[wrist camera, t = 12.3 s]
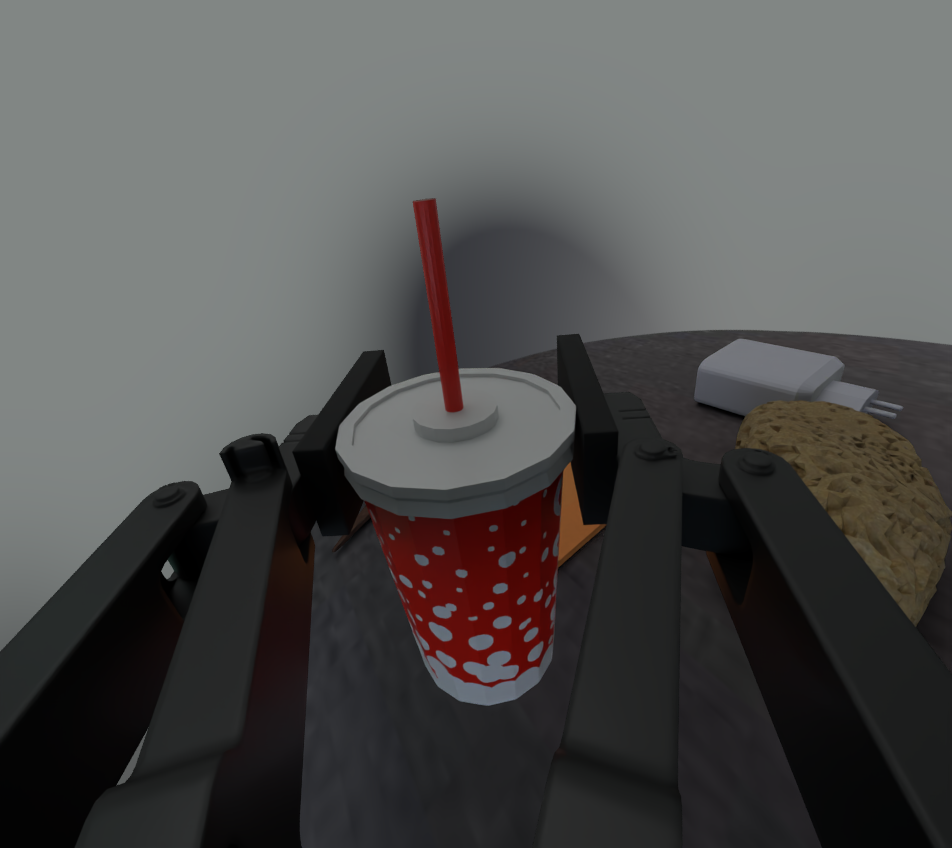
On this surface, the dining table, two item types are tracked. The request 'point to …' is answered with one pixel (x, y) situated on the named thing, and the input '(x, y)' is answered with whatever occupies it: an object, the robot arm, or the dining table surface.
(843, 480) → the sponge
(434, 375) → the beverage cup
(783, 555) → the robot arm
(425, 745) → the dining table surface
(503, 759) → the dining table surface
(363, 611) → the dining table surface
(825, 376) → the charger
